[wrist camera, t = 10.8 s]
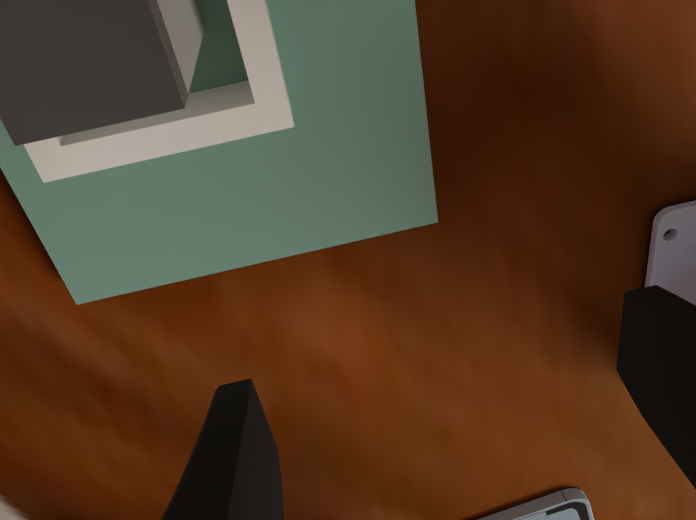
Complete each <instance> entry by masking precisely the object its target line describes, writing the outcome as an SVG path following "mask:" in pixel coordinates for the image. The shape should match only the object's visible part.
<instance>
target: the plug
mask: <svg viewBox="0 0 696 520" xmlns="http://www.w3.org/2000/svg"><path fill="white" fill-rule="evenodd" d="M203 33H204V27H203V24H202V21H201V17H200V14H199V11H198V7H197V4H196V1H195V0H0V119H1V121H2V123H3V124H4V126H5V128H6V130H7V132H8V134H9V136H10V138H11V140H12V141H13V143H14V145H15V146H18V145H23V144H27V143H32V142H36V141H41V140H45V139H50V138H54V137H59V136H63V135H68V134H72V133H77V132H81V131H86V130H90V129H95V128H99V127H104V126H108V125H113V124H117V123H122V122H126V121H131V120H135V119H140V118H145V117H149V116H154V115H158V114H163V113H167V112H172V111H176V110H181V109H185V106H186V102H187V98H188V94H189V90H190V86H191V82H192V78H193V73H194V69H195V65H196V61H197V57H198V53H199V49H200V45H201V41H202V37H203Z"/></svg>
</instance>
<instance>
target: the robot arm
mask: <svg viewBox="0 0 696 520" xmlns="http://www.w3.org/2000/svg"><path fill="white" fill-rule="evenodd" d="M669 229H670V231H669V232H668V233H667V234H665V232H666V231H667V230H669ZM664 234H665V235H664ZM616 369H617V371H618V373H619V375H620V377H621V379H622V381H623V383H624V384H625V386H626V388H627V390H628V392H629V394H630V396H631V397H632V399H633V401H634V403H635V404H636V406H637V408H638V410H639V411H640V413H641V415H642V416H643V418H644V419H645V421H646V422H647V423H648V425H649V426H650V428H651V429H652V430H653V432H654V433H655V435H656V436H657V437H658V439H659V440H660V441H661V443H662V444H663V446H664V447H665V448H666V450H667V451H668V452H669V454H670V455H671V456H672V458H673V459H674V461H675V462H676V463H677V465H678V466H679V467H680V469H681V470H682V471H683V473H684V474H685V475H686V477H687V478H688V479H689V481H690V482H691V484H692V485H693V486H694V488H695V489H696V200H695V201H691V202H686V203H682V204H678V205H673V206H669V207H666V208H664V209H662V210H661V211H659V212H658V213H657V215H656V216H655V218H654V221H653V227H652V235H651V243H650V250H649V258H648V265H647V273H646V280H645V287H644V288H640V289H636V290H632V291H627V292H625V295H624V304H623V313H622V322H621V332H620V341H619V350H618V359H617V368H616ZM161 520H284V513H283V492H282V482H281V473H280V465H279V456H278V448H277V446H276V443H275V440H274V438H273V435H272V432H271V430H270V427H269V424H268V422H267V419H266V417H265V414H264V411H263V409H262V406H261V403H260V401H259V398H258V395H257V393H256V390H255V387H254V385H253V382H252V379H247V380H243V381H238V382H234V383H230V384H225V385H221V386H219V387H218V388H217V390H216V391H215V393H214V396H213V399H212V402H211V405H210V408H209V411H208V413H207V416H206V419H205V422H204V424H203V427H202V429H201V432H200V435H199V437H198V439H197V442H196V444H195V447H194V449H193V452H192V454H191V457H190V459H189V461H188V463H187V466H186V468H185V470H184V473H183V475H182V477H181V479H180V482H179V484H178V486H177V488H176V491H175V493H174V495H173V497H172V499H171V501H170V503H169V505H168V507H167V509H166V511H165V513H164V515H163V517H162V519H161Z"/></svg>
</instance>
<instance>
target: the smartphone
mask: <svg viewBox="0 0 696 520" xmlns="http://www.w3.org/2000/svg"><path fill="white" fill-rule="evenodd" d="M478 520H594V518H593V514H592V510H591V505H590V503H589V501H588V499H587V497H586V495H585V493H584V492H583V491H582V490H581V489H578V488H568V489H564V490H561V491H558V492H555V493H552V494H549V495H546V496H543V497H541V498H538V499H535V500H532V501H529V502H526V503H523V504H521V505H518V506H515V507H512V508H509V509H506V510H503V511H500V512H498V513H495V514H492V515H489V516H486V517H483V518H480V519H478Z"/></svg>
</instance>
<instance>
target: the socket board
mask: <svg viewBox="0 0 696 520" xmlns="http://www.w3.org/2000/svg"><path fill="white" fill-rule="evenodd" d="M195 1H196V4H197V7H198V11H199V14H200V17H201V21H202V24H203V27H204V33H203V37H202V41H201V45H200V49H199V53H198V57H197V61H196V65H195V69H194V73H193V78H192V82H191V86H190V90H189V94H188V98H187V102H186V106H185V109H181V110H176V111H172V112H167V113H163V114H158V115H154V116H149V117H145V118H140V119H135V120H131V121H126V122H122V123H117V124H113V125H108V126H104V127H99V128H95V129H90V130H86V131H81V132H77V133H72V134H68V135H63V136H59V137H54V138H50V139H45V140H41V141H36V142H32V143H27V144H23V145H18V146H15V145H14V143H13V141H12V140H11V138H10V136H9V134H8V132H7V130H6V128H5V126H4V124H3V123H2V121H1V119H0V168H1V170H2V171H3V173H4V175H5V177H6V179H7V180H8V182H9V184H10V186H11V188H12V189H13V191H14V193H15V195H16V197H17V198H18V200H19V202H20V204H21V206H22V207H23V209H24V211H25V213H26V215H27V216H28V218H29V220H30V222H31V224H32V225H33V227H34V229H35V231H36V233H37V234H38V236H39V238H40V240H41V242H42V243H43V245H44V247H45V249H46V251H47V252H48V254H49V256H50V258H51V260H52V261H53V263H54V265H55V267H56V269H57V270H58V272H59V274H60V276H61V278H62V279H63V281H64V283H65V285H66V287H67V288H68V290H69V292H70V294H71V296H72V297H73V299H74V301H75V303H76V305H77V304H82V303H86V302H90V301H95V300H99V299H104V298H108V297H112V296H117V295H121V294H126V293H130V292H134V291H139V290H143V289H148V288H152V287H156V286H161V285H165V284H169V283H174V282H178V281H183V280H187V279H191V278H196V277H200V276H205V275H209V274H213V273H218V272H222V271H227V270H231V269H235V268H240V267H244V266H249V265H253V264H257V263H262V262H266V261H271V260H275V259H279V258H284V257H288V256H292V255H297V254H301V253H306V252H310V251H314V250H319V249H323V248H328V247H332V246H336V245H341V244H345V243H350V242H354V241H358V240H363V239H367V238H372V237H376V236H380V235H385V234H389V233H394V232H398V231H402V230H407V229H411V228H415V227H420V226H424V225H429V224H433V223H437V222H438V216H437V206H436V197H435V187H434V178H433V168H432V159H431V149H430V140H429V130H428V121H427V111H426V102H425V92H424V83H423V74H422V64H421V55H420V45H419V36H418V26H417V17H416V7H415V0H195Z"/></svg>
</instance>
